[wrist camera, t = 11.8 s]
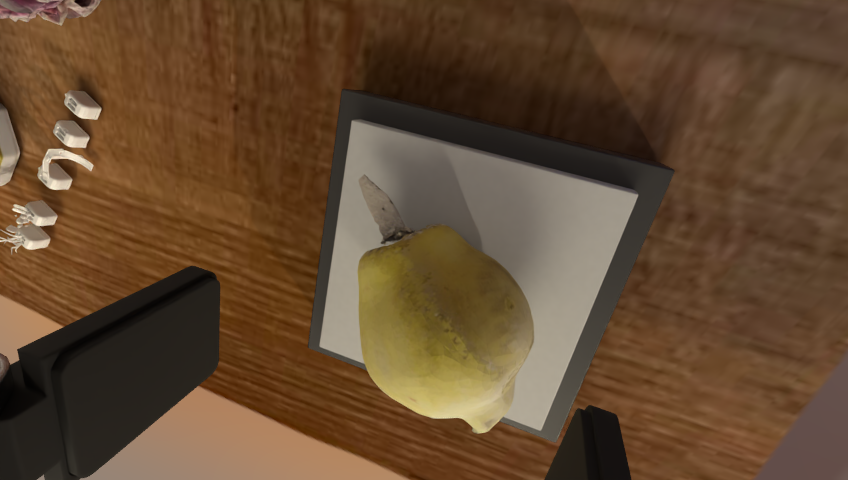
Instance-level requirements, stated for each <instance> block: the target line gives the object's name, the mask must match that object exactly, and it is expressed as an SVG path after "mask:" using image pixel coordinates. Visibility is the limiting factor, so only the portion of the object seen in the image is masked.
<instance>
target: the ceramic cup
mask: <svg viewBox="0 0 848 480" xmlns="http://www.w3.org/2000/svg"><path fill="white" fill-rule="evenodd" d="M19 155H20V151H19V147H18V144H17V141H16V138H15V134H14V131H13V128H12V125H11V121H10V118H9V115H8V112H7V109H6V108H5V107H4V106H3V105H2V104H1V103H0V186H2V185H5V184H6V183H7V182H9V181H10V179H11V177H12V174H13V171H14V169H15V166H16V163H17V161H18V158H19Z"/></svg>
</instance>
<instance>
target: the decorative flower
mask: <svg viewBox="0 0 848 480" xmlns="http://www.w3.org/2000/svg"><path fill="white" fill-rule="evenodd" d="M100 1H101V0H0V18H11V19H12V20H13V21H15V22H16V21H17V20H19V19H20V20H22V21H25V22H29V21H30V20H31V19H32V18H35V17H36V14H38V15H39V16H41V17H42V18H43V19H44V20H48V21H51V22H53V23H56V24H59V25H61V26H62V24H63V22H64V20H65V18H66V17H67V18H70V19H71V18H78V17H81V16H83V17H86V16H87V15H89V14H91V13H92V12H93V11H94V10H95V9H96V7H97V6H98V5H99V3H100Z"/></svg>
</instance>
